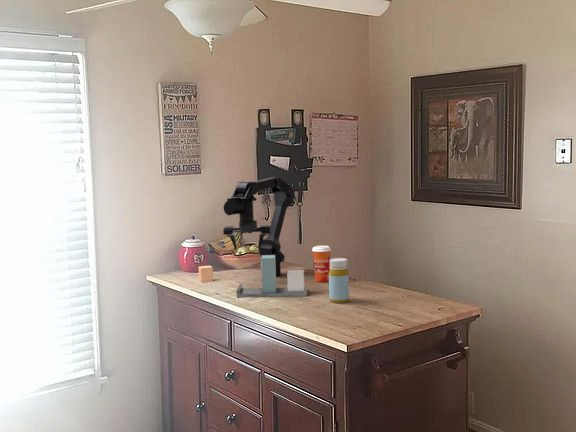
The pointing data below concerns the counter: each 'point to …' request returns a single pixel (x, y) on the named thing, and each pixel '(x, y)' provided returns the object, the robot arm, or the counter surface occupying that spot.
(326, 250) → the paper cup
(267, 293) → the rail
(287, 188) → the robot arm
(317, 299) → the counter surface
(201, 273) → the block
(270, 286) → the block
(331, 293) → the bottle
